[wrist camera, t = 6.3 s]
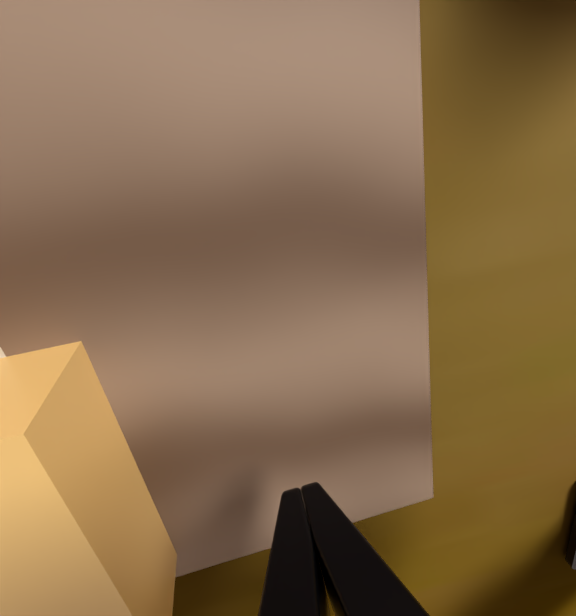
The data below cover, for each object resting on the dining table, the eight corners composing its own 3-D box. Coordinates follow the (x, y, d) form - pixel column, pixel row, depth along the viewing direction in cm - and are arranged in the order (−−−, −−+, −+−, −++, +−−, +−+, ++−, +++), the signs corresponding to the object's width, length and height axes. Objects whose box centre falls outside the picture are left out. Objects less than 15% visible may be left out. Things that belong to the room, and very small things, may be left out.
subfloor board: (412, 464, 15) (433, 497, 13) (-76, 611, 13) (-109, 664, 12) (357, -441, 6) (401, -608, 5) (-1130, -311, 4) (-1726, -509, 3)
